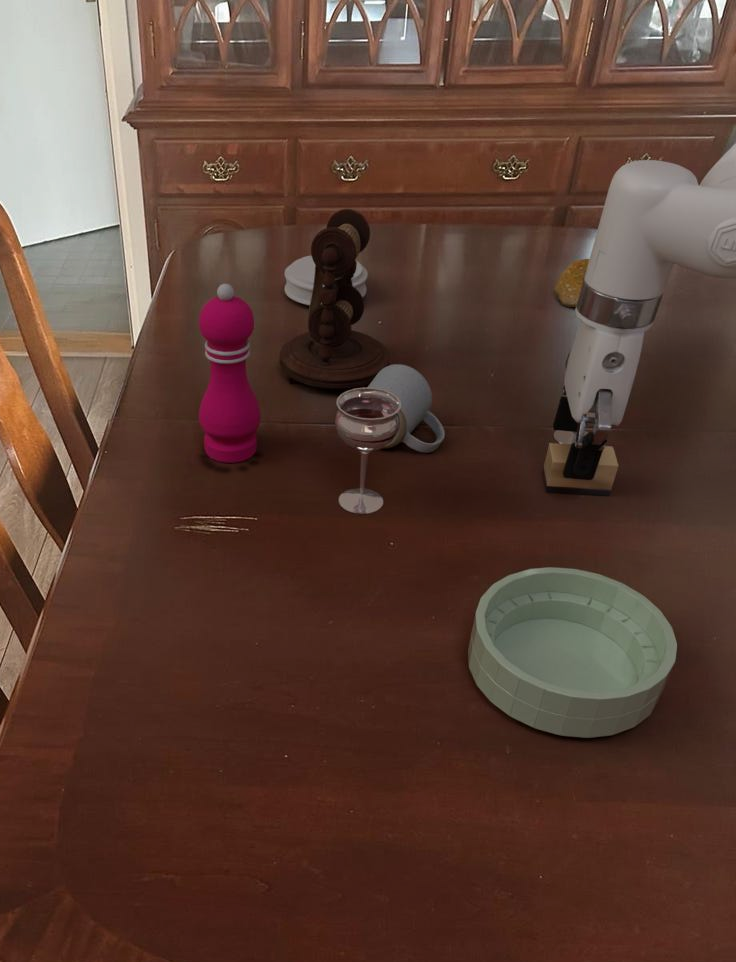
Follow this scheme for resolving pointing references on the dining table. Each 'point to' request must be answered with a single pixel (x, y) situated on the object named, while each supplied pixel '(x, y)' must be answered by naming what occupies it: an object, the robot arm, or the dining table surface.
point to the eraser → (560, 484)
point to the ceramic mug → (410, 405)
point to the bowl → (570, 651)
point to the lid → (303, 280)
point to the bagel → (571, 283)
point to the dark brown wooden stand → (335, 314)
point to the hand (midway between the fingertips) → (571, 452)
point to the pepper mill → (228, 379)
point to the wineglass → (366, 436)
